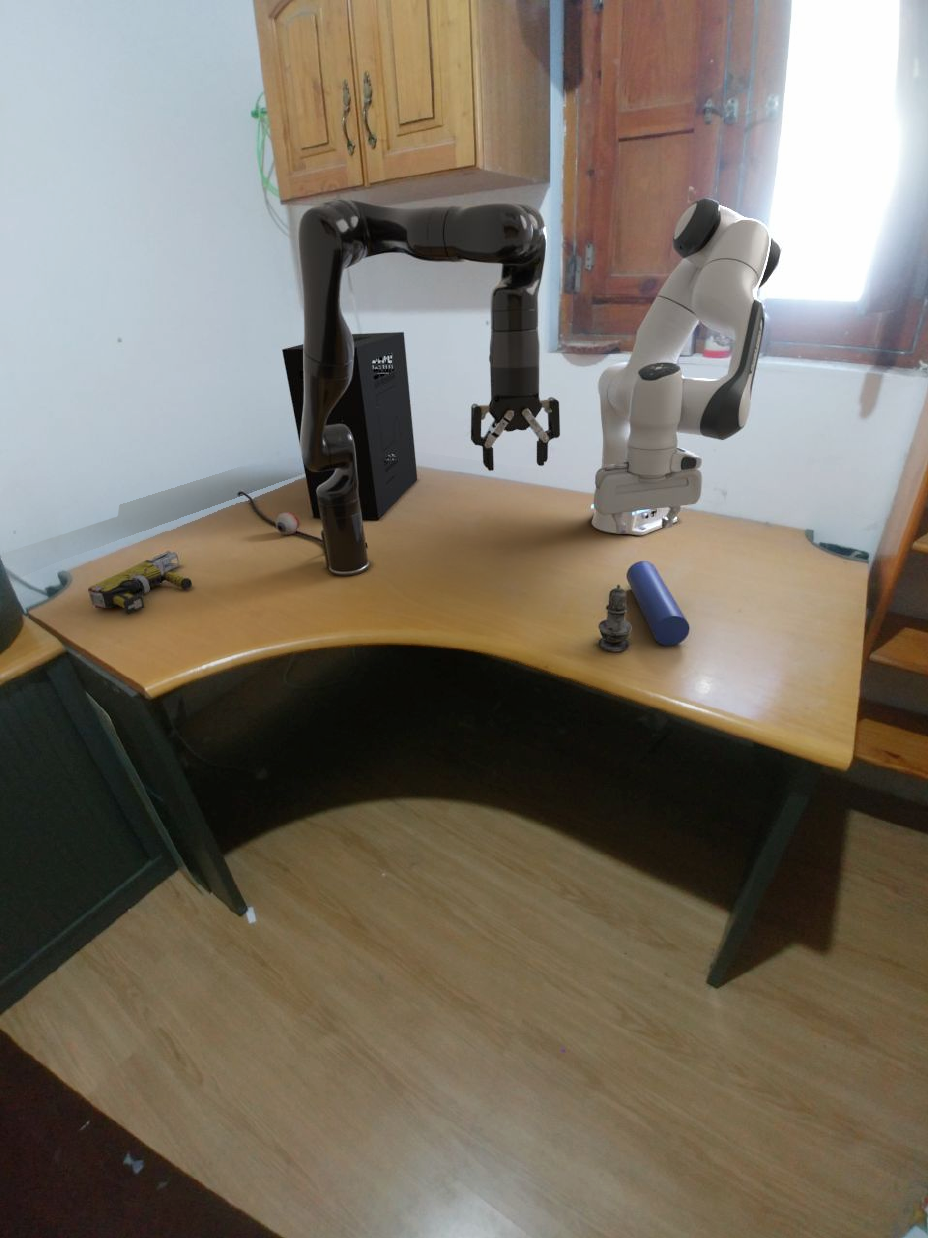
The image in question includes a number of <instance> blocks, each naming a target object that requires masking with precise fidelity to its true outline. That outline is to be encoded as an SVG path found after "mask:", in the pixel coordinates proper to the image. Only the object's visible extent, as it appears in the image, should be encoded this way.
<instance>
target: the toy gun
mask: <svg viewBox="0 0 928 1238" xmlns="http://www.w3.org/2000/svg"><path fill="white" fill-rule="evenodd" d="M175 559H176V561H177V563H176V562H173V560H175ZM178 567H180V561H179V554H177V553H176V552H174V551H173V552H171V550H170V551H169V550H167V551H165V552H164V553H161V554H159V555H157V556H155V557H152V558H151V559H146V560H145V561H142V562H139V563H138V564H136V565H133V566H132V567H130V568H127V569H125V570H123V571H120V572H118V573H116V574H115V575H113V576H111V577H108V578H107V579H104V580H102V581H100V582H97V583H96V584H93V585H91V586H89V587H88V588H87V591H88V594H89V599H90V602H91V605H93V606H94V607H95V609H99V610H102V609H104V608H105V609H112V608H116V607H121V608H123V609H124V610H125V614H126V615H131V614H134V613H136V612H138V611H140V610H143V609H145V608H146V607H145V602H144V598H143V596H144V595H146V594H148V593H150V590H151V588H153V587H156V586H158V585H160V584H163V583H164V581H166V582H168V583H170V584H173V585H176V586H178V587H181V588H182V589H184V590H188V589H190V588H191V587H193V583H192V582H193V581H192V579H190V578H189V577H184V576H182V575H180V574H178V573H174V572H173V571H172V570H173V569H176V568H178Z"/></svg>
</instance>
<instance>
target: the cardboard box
mask: <svg viewBox="0 0 928 1238" xmlns="http://www.w3.org/2000/svg"><path fill="white" fill-rule="evenodd" d="M351 334H352V337H353V341H354V362H353V374H352V379H351V382H350V384H349V386H348V388H347V390H346V391H345V393H344V394H343V396H342V397H341V398H340V400H339V401H338V403H337V404H336V406H335V407H334V408H333V410H332V411H331V413H330V415H329V417H328V419H327V421H326V425H330V424H335V423H343V424H345V425H346V426H347V427H348V428H349V429H350V431H351V433H352V436H353V439H354V444H355V452H356V464H357V474H358V493H359V500H360V507H361V514H362V520H372V521H373V520H374V521H379V520H380V519H381V518H382V517H383V516H384V515H385V514H386V513H387V512H388V511H389V510H390V509H391V508H392V507H393V506H394V505H395V504H396V503H397V501H399V499H400V498H401V497H403V495H405V493H406V492H407V491H408V490H409V489H410V488H411V487H412V486H413V485H414V484H415V483H416V482H417V481H418V472H417V471H418V470H417V460H416V459H417V458H416V451H415V450H416V449H415V440H414V426H413V418H412V407H411V395H410V385H409V373H408V363H407V351H406V341H405V332H404V331H397V332H395V331H394V332H371V333H368V332H367V333H351ZM281 352H282V357H283V363H284V368H285V371H286V373H285V374H286V379H287V383H288V389H289V394H290V399H291V405H292V410H293V415H294V421H295V428H296V432H297V437H298V442H299V444H300V434H301V424H302V415H303V404H304V370H303V343H302V344H298V345H294V346H291V347H286V348H283V349H281ZM389 361H391V362H389ZM299 448H300V447H299ZM300 450H301V448H300ZM302 464H303V465H302V466H303V470H304V475H305V480H306V485H307V491H308V497H309V503H310V507H311V512H312V517H313V518H317V519H318V518H319V519H321V516H320V510H319V505H318V500H317V494H316V490H317V488H318V487H319V485H321V484H322V483H324V482H325V481H326V480H328V479H329V478H330V477H331V476H332V475H333V473H334V472H335V469H333V470H328V471H323V472H312V471H310V470H309V469H308V468H307V467H306V466H305V464H304V462H303V461H302Z"/></svg>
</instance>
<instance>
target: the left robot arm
mask: <svg viewBox="0 0 928 1238" xmlns="http://www.w3.org/2000/svg"><path fill="white" fill-rule="evenodd" d="M297 231H298V232H297V233H298V234H297V241H298V243H297V244H298V256H299V265H300V275H301V287H302V301H303V302H302V303H303V304H302V306H303V343H302V344H303V370H304V404H303V415H302V424H301V434H300V443H299V448H301V449H300V455H301V459H302V463H303V462H304V464H305V466H306V467H307V468H308V469H309V470H310V471H312V472H323V471H328V470H333V469H335V472H334V473H333V475H332V476H331V477H330V478H329V479H328V480H326V481H325V482H324V483H322V484H321V485H319V487H318V488H317V490H316V494H317V500H318V505H319V510H320V516H321V518H320V521H321V526H322V530H321V531H320V536H321V538H320V537H317V536H315V535H311V534H308V533H304V532H302V531H299V530H297V531H296V532H294V533H293V534H297V535H300V536H302V537H306V538H309V539H311V540H316V541H317V542H319V543H321V544H322V548H323V552H324V557H325V558H324V559H325V563H326V568H327V569H329V572H330V573H331V574H333V575H335V576H341V577H343V576H345V577H346V576H353V575H357V574H361V573H363V572H365V571H366V570H368V569H369V567H370V560H369V558H368V549H369V547H368V543H367V541H366V535H365V529H364V521H363V519H362V514H361V507H360V500H359V493H358V474H357V464H356V452H355V444H354V439H353V436H352V433H351V431H350V429H349V428H348V427H347V426H346V425H345V424H343V423H335V424H330V425H326V421H327V419H328V417H329V415H330V413H331V411H332V410H333V408H334V407H335V406H336V404H337V403H338V401H339V400H340V398H341V397H342V396H343V394H344V393H345V391H346V390H347V388H348V386H349V384H350V382H351V379H352V374H353V362H354V341H353V337H352V334H353V333H352V332H351V329H350V327H349V325H348V323H347V321H346V319H345V317H344V315H343V312H342V306H341V287H342V279H343V274H344V271H345V269H348V268H349V267H351V266H354V265H356V264H358V263H360V262H361V261H362V260H363V259H366V258H370V257H373V256H378V255H383V254H384V255H385V254H401V255H406V256H408V257H411V258H413V259H415V260H418V261H423V262H430V263H468V262H472V263H481V264H493V265H494V264H495V265H501V270H500V278H499V279H500V280H499V283H498V285H497V286H495V287H494V288H493V289H492V291H491V294H490V305H489V306H490V307H489V310H490V311H489V312H490V340H489V341H490V342H489V356H488V361H489V371H490V374H489V375H490V401H489V404H481V405H479V404H478V403H472V404H471V406H470V441H471V442H472V443H473V444H474V445H475V446H480V447H482V463H483V466H484V467H485V468H486V469H487V470H488V471H490V472H491V471H494V469H495V468H494V466H495V465H494V448H493V445H494V443H495V442H496V441H497V439H498V438H499V437H500V436H501V435H502V434H503V431H505V432H508V433H509V432H514V431H516V430H518V431H527V429H529V428H530V430H532V431H533V433H534V435H535V436H536V437H537V439H538V440H536V464H537V465H538V466H539V467H543V466H545V463H547V462H548V458H549V442H550V441H551V440H553V439H559V438H560V436H561V422H560V401H559V400H558V399H557V398H555V397H553V396H551V397H549V398H547V399H542V400H541V398H540V355H541V353H540V350H541V349H540V335H539V293H540V288H541V287H540V286H541V283H542V278H543V273H544V266H545V262H546V261H545V260H546V253H547V245H548V243H547V228H546V224H545V220H544V218H543V216H542V215H541V213H540V212H539V211H538V210H537V209H536V208H535V207H534V206H532V205H528V204H519V203H511V202H495V203H494V202H493V203H485V204H478V205H471V206H468V205H431V206H430V205H429V206H428V205H427V206H411V207H397V206H396V207H394V206H387V205H379V204H374V203H369V202H366V201H365V202H364V201H360V200H355V199H349V198H344V197H343V198H342V197H340V198H334V199H330V200H327V201H325V202H322V203H319V204H316V205H313V206H310V208H308V209H307V210H305V211H304V212H303V214H302V216H301V217H300V220H299V223H298V230H297ZM542 408H543V410H544V413H546V414H547V425H548V426H547V427H548V429H547V430H544V428H543V427H542V425H541V424H540V422H538V420H537V419H536V418H537V417H538V415H539V414H540V413H541V410H542ZM488 413H489V415H490V416H491V418H493V421H492V422H491V423H490V425H489V426H488V430H487V431H486V432H485V434H484V436H482V421H484V420H485V419H486V417H487V414H488ZM240 495H243V496H245V497H246V498H247V499H248V500H249V502H250V505H251V506H252V508H253V510H254V511H255V512H256V514H257V515H258V516H259V517H261V518H262V519H263V520H265V521H266V522H268V523H270V524H271V525H274V526H276V521H273V520H271V519H270V518H268V517H266V516H265V515H264V514H262V512H260V511H259V510H258V508H257V507H256V505H255V504H254V501H253V498H252V497H251V496H250V495H249V494H247V493H246V492H245V491H238V492H237V496H240Z"/></svg>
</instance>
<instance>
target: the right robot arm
mask: <svg viewBox="0 0 928 1238" xmlns="http://www.w3.org/2000/svg"><path fill="white" fill-rule="evenodd" d="M672 246H673V249H674V251H675V252H676V253H677V254H678V255H679V256H680V257H681V258H682V259H681V261H680V262H679V263H678V264H677V265H676V267H675V268H674V269H673V271H672V272H671V274H670V275H669V276H668V278H667V279H666V280H665V282H664V284H663V285H662V286H661V288H660V290H659V292H658V294H657V295H656V297H655V299H654V301H653V302H652V304H651V305H650V308H649V309H648V311H647V312H646V315H645V317H644V318H643V319H642V321H641V324H640V325H639V327H638V329H637V331H636V338H635V343H634V345H633V349H632V352H631V355H630V357H629V360H628V362H618V363H615V364H612V365H610V366H608V367H607V368H605V369H604V371H602V373H601V374H600V377H599V379H598V382H597V389H598V395H599V405H600V419H601V420H600V421H601V431H602V453H601V467H600V468H599V469H598V470H597V471H596V473H595V478H594V479H595V480H594V485H595V490H594V494H593V502H592V504H591V505H590V509H595V511H594V514H593V517H592V520H591V525H592V526H593V527H594V528H595V529H597V530H599V531H601V532H605V533H611V534H618V535H620V534H623V535H625V534H626V535H632V536H633V535H634V536H645V535H646V534H650V533H652V532H654V531H657V530H660V529H662V528H664V529H668V528H669V529H670V528H673V526H674V525H673V524H675V523H677V522H678V514H679V513H680V511H681V507H682V506H690V505H691V506H692V505H695V504H697V503H698V501H699V500H700V499H701V495H702V486H703V475H702V472H701V470H700V468H701V466H702V461H703V460H702V457H700V456H699V455H697V454H696V453H694V452H692V451H690V450H688V449H686V448H681V447H678V437H677V435H678V434H686V435H694V436H695V435H696V436H702V437H706V438H711V439H716V440H719V441H725V440H728V439H729V438H730V437H732V436H734V435H736V434H737V433H739V432H740V431H741V430H743V428H744V427H745V426H746V423H747V421H748V418H749V416H750V415H749V414H750V409H751V399H752V391H753V385H754V379H755V375H756V370H757V365H758V361H759V356H760V352H761V346H762V340H763V336H764V330H765V321H766V319H765V316H766V315H765V306H764V303H763V302H762V301H761V300H760V299H758V298H757V291H758V290H759V289H760V288H762V286H763V285H765V283H767V282H768V280H769V279H770V278H771V277H772V276H773V274H774V273H775V271H776V270H777V267H778V266H779V264H780V261H781V258H782V247H781V245H780V243H779V242H778V241H777V240H776V238H775V237H774V236H773V235H771V233H770V231H769V229H768V227H767V226H766V225H765V224H764V223H762V222H761V221H760V220H757V219H754V218H748V217H744V216H742V215H741V214H739V213H737V212H735V211H733V210H732V209H730V208H727V207H725V206H722V205H720V202H718V201H717V200H714V199H711V198H707V197H703V198H700V199H698V200H695V201H694V202H693V203H692V204H691V205H690V206H689V207H687V209H686V210H685V211H684V213H682V215H681V217H680V218H679V219H678V222H677V224H676V227H675V230H674V234H673V235H672ZM699 323H701V324H702V325H703V326H705V327H706V328H707V329H708V330H710V331H712V332H715V333H717V334H720V335H723V336H725V337H727V338H729V339H730V340H732V341H733V346H732V351H731V356H730V360H729V365H728V369H727V373H726V375H724V376H722V377H720V378H713V379H712V378H699V377H698V378H697V377H688V376H687V377H686V376H684V375H683V370H682V367H681V366H680V365H678V364H677V362H678V360H679V357H680V356H681V354H682V352H683V349H684V347H685V346H686V344H687V343H688V341H689V339H690V338H691V336H692V334H693V333H694V331H695V329H696V328H697V325H698V324H699ZM677 433H678V434H677Z"/></svg>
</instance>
